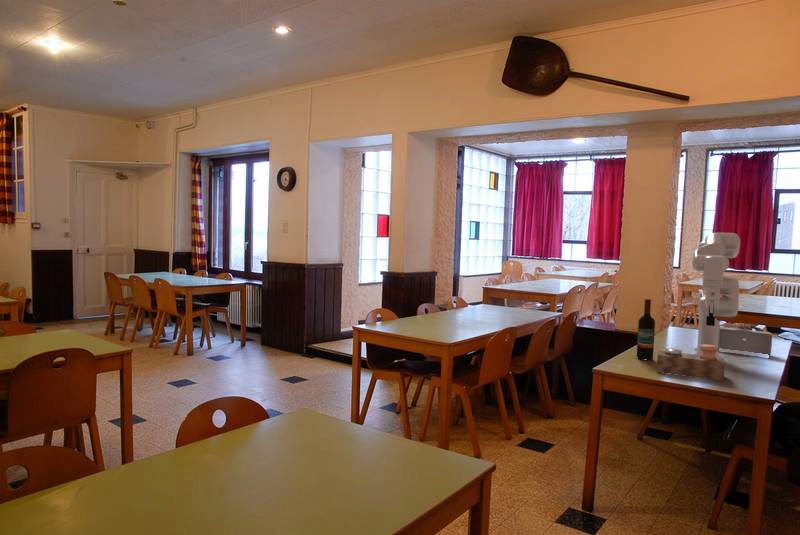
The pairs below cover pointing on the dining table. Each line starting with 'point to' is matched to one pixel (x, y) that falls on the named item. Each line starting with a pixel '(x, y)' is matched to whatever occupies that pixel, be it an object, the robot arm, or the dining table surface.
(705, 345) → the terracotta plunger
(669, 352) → the steel plunger
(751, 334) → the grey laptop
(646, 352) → the wine bottle
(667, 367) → the press block
